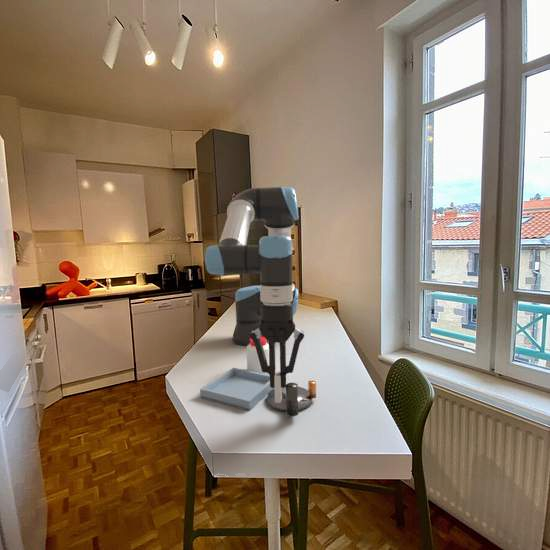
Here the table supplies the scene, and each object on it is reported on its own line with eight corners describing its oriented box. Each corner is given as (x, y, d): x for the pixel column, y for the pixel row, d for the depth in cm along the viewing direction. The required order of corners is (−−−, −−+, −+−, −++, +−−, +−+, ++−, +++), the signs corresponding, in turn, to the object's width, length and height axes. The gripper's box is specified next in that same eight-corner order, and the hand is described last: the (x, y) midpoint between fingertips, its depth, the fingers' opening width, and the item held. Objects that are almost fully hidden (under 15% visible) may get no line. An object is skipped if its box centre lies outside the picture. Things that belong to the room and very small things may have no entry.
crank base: (259, 405, 82) (258, 386, 81) (279, 386, 92) (279, 369, 92) (304, 417, 76) (304, 396, 75) (320, 395, 87) (320, 377, 86)
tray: (200, 397, 87) (199, 388, 87) (233, 375, 101) (233, 367, 101) (249, 410, 79) (249, 401, 79) (278, 384, 94) (277, 376, 93)
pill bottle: (262, 378, 98) (261, 344, 97) (242, 373, 102) (241, 340, 101) (275, 369, 105) (274, 337, 104) (256, 365, 109) (255, 334, 108)
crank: (281, 391, 86) (281, 367, 85) (296, 391, 86) (296, 366, 85) (284, 416, 74) (283, 388, 73) (301, 416, 74) (300, 387, 73)
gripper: (246, 305, 70) (248, 407, 72) (304, 305, 69) (305, 408, 71) (251, 299, 77) (253, 391, 80) (304, 299, 76) (305, 393, 78)
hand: (278, 399), depth 75 cm, fingers closed
